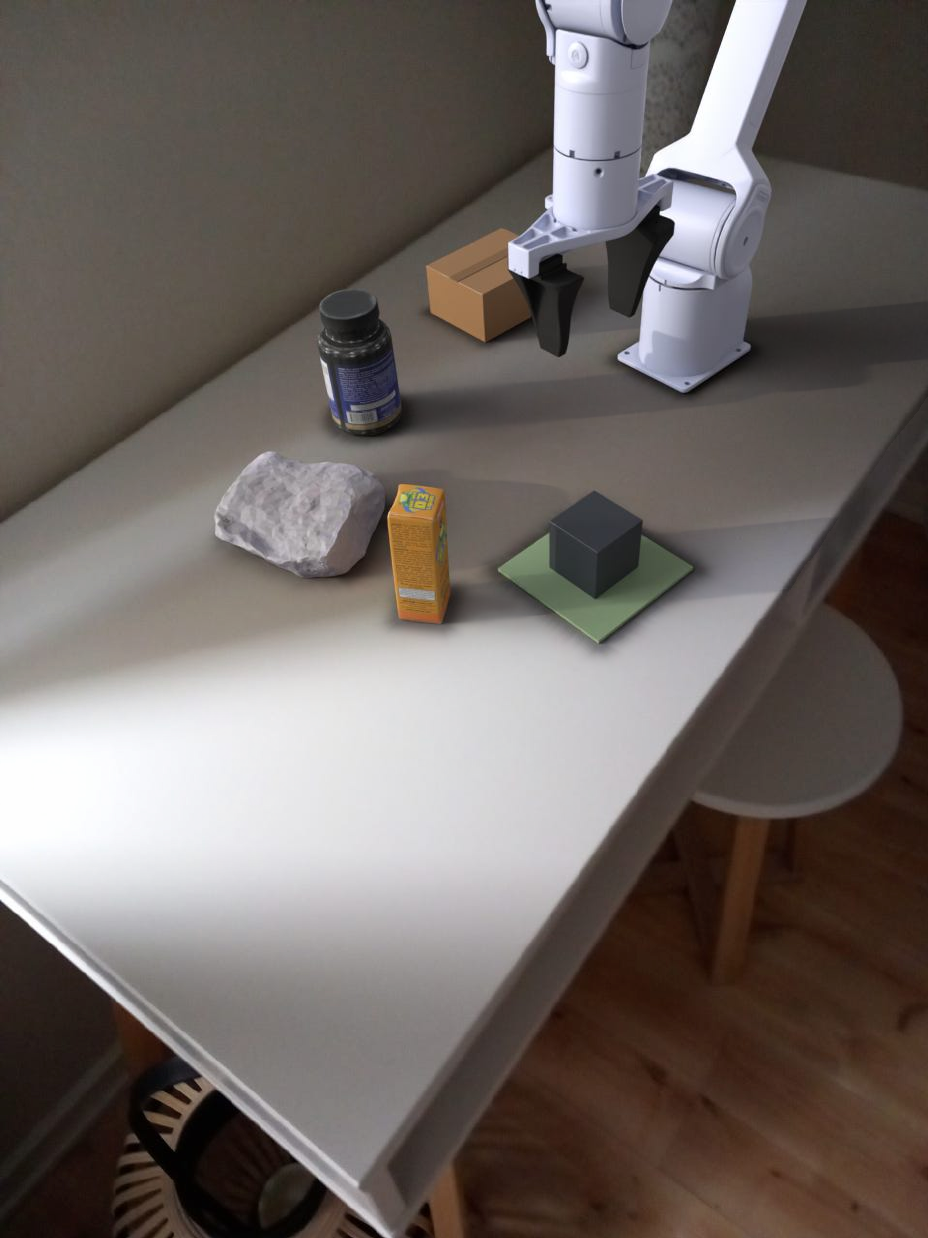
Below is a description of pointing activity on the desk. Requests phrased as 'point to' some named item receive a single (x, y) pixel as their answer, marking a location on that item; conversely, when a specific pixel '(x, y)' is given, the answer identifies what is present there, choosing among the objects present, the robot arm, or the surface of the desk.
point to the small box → (594, 543)
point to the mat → (611, 606)
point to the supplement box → (420, 553)
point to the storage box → (478, 288)
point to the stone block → (302, 514)
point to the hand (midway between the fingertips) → (588, 330)
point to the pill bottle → (358, 363)
